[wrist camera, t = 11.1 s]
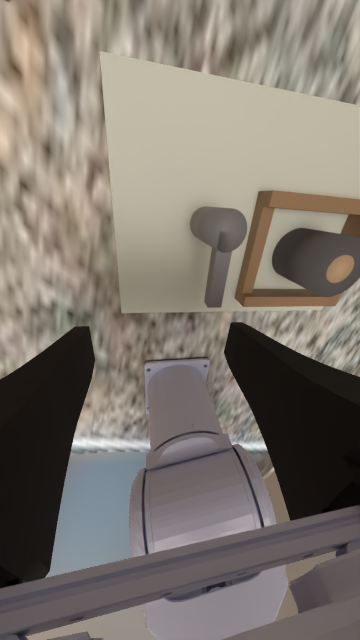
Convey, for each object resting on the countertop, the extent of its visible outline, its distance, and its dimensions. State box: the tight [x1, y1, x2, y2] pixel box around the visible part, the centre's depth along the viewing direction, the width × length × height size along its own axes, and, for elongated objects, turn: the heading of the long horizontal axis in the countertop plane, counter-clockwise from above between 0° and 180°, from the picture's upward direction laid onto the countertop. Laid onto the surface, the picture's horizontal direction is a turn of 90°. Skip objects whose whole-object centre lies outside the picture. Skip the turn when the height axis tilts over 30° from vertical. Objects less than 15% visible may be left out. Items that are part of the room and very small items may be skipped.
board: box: [100, 51, 360, 313], centre depth 15 cm, size 16×22×6 cm
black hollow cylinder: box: [272, 228, 360, 297], centre depth 16 cm, size 4×4×5 cm
